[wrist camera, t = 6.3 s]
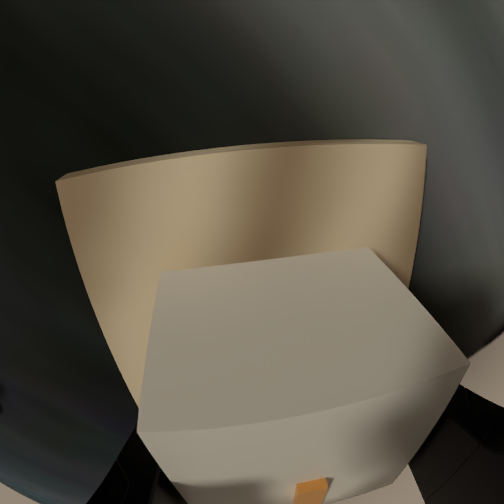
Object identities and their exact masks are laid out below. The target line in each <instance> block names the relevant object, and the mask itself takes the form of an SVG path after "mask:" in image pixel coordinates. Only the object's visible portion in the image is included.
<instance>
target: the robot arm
mask: <svg viewBox="0 0 504 504" xmlns="http://www.w3.org/2000/svg"><path fill="white" fill-rule="evenodd" d="M137 425H138V424H137ZM137 425H136V427H135V429H134V430H133V432H132V434H131V435H130V437H129V439H128V440H127V442H126V444H125V446H124V447H123V449H122V451H121V452H120V454H119V456H118V457H117V460H118V461H117V460H116V461H115V462H114V464H113V466H112V467H111V469H110V471H109V472H108V474H107V476H106V477H105V479H104V480H103V482H102V483H101V485H100V486H99V487H98V489H97V490H96V491H95V493H94V494H93V495H92V497H91V498H90V499H89V501H88V502H87V503H86V504H188V503H187V502H186V501H185V499H184V498H183V497H182V495H181V494H180V493H179V492H178V490H177V489H176V488H175V486H174V485H173V484H172V483H171V481H170V480H169V479H168V477H167V476H166V474H165V473H164V472H163V470H162V469H161V468H160V466H159V465H158V463H157V462H156V460H155V459H154V458H153V456H152V455H151V453H150V452H149V450H148V449H147V447H146V446H145V444H144V443H143V441H142V440H141V438H140V436H139V435H138V433H137ZM408 465H409V467H410V469H411V471H412V473H413V476H414V478H415V481H416V483H417V485H418V487H419V490H420V492H421V495H422V497H423V499H424V501H425V504H504V408H503V407H501V406H499V405H497V404H495V403H493V402H491V401H489V400H487V399H485V398H483V397H481V396H479V395H477V394H476V393H474V392H472V391H470V390H469V389H467V388H464V387H463V386H462V385H460V384H459V386H458V387H457V389H456V391H455V393H454V395H453V396H452V398H451V400H450V401H449V403H448V405H447V407H446V408H445V410H444V412H443V413H442V415H441V416H440V418H439V420H438V421H437V423H436V424H435V426H434V427H433V429H432V430H431V432H430V433H429V435H428V436H427V438H426V439H425V441H424V442H423V444H422V445H421V447H420V448H419V449H418V451H417V452H416V453H415V455H414V456H413V458H412V459H411V460H410V462H409V463H408Z"/></svg>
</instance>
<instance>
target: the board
mask: <svg viewBox="0 0 504 504" xmlns="http://www.w3.org/2000/svg"><path fill="white" fill-rule="evenodd" d="M426 150H427V145H425V144H422V143H418V142H415V141H412V140H373V139H360V140H315V141H294V142H278V143H264V144H252V145H241V146H231V147H221V148H213V149H204V150H196V151H189V152H181V153H174V154H168V155H161V156H155V157H149V158H143V159H137V160H131V161H126V162H120V163H115V164H110V165H105V166H100V167H95V168H91V169H86V170H81V171H77V172H73V173H68V174H66V175H64V176H63V177H61V178H60V179H58V180H57V181H55V182H56V186H57V191H58V195H59V199H60V204H61V208H62V212H63V215H64V219H65V223H66V227H67V230H68V234H69V237H70V241H71V244H72V248H73V251H74V254H75V257H76V260H77V264H78V267H79V270H80V273H81V276H82V279H83V281H84V284H85V287H86V290H87V293H88V296H89V298H90V301H91V304H92V306H93V309H94V311H95V314H96V317H97V319H98V322H99V324H100V327H101V329H102V331H103V334H104V336H105V339H106V341H107V343H108V346H109V348H110V350H111V352H112V355H113V357H114V359H115V361H116V363H117V365H118V368H119V370H120V372H121V374H122V376H123V378H124V380H125V382H126V384H127V386H128V388H129V390H130V392H131V394H132V396H133V398H134V400H135V402H136V404H137V406H138V408H139V406H140V397H141V389H142V381H143V374H144V367H145V360H146V353H147V346H148V340H149V333H150V327H151V321H152V316H153V310H154V304H155V299H156V293H157V288H158V283H159V278H160V273H161V272H166V271H175V270H184V269H192V268H201V267H209V266H218V265H226V264H235V263H243V262H251V261H259V260H268V259H276V258H284V257H292V256H300V255H308V254H316V253H324V252H332V251H340V250H348V249H356V248H364V247H369V248H370V249H371V250H372V251H373V252H374V253H375V254H376V255H377V256H378V257H379V259H380V260H381V261H382V262H383V263H384V264H385V265H386V266H387V267H388V268H389V269H390V270H391V271H392V272H393V273H394V274H395V276H396V277H397V278H398V279H399V280H400V281H401V282H402V283H403V284H404V285H405V286H406V288H407V289H408V288H409V283H410V278H411V273H412V268H413V262H414V257H415V251H416V245H417V238H418V231H419V224H420V217H421V209H422V200H423V190H424V179H425V166H426Z"/></svg>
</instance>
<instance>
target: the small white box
mask: <svg viewBox="0 0 504 504" xmlns="http://www.w3.org/2000/svg"><path fill="white" fill-rule="evenodd" d="M469 365H470V362H469V361H468V359H467V358H466V357H465V356H464V354H463V353H462V352H461V351H460V349H459V348H458V347H457V346H456V344H455V343H454V342H453V341H452V340H451V338H450V337H449V336H448V335H447V334H446V332H445V331H444V330H443V329H442V328H441V326H440V325H439V324H438V323H437V322H436V320H435V319H434V318H433V317H432V316H431V315H430V314H429V312H428V311H427V310H426V309H425V308H424V307H423V305H422V304H421V303H420V302H419V301H418V300H417V299H416V298H415V296H414V295H413V294H412V293H411V292H410V291H409V290H408V289H407V288H406V286H405V285H404V284H403V283H402V282H401V281H400V280H399V279H398V278H397V277H396V276H395V274H394V273H393V272H392V271H391V270H390V269H389V268H388V267H387V266H386V265H385V264H384V263H383V262H382V261H381V260H380V259H379V257H378V256H377V255H376V254H375V253H374V252H373V251H372V250H371V249H370V248H369V247H364V248H356V249H348V250H340V251H332V252H324V253H316V254H308V255H300V256H292V257H284V258H276V259H268V260H259V261H251V262H243V263H235V264H226V265H218V266H209V267H201V268H192V269H184V270H175V271H166V272H161V273H160V278H159V283H158V288H157V293H156V299H155V304H154V310H153V316H152V321H151V327H150V333H149V340H148V346H147V353H146V360H145V367H144V374H143V381H142V389H141V397H140V406H139V415H138V425H137V433H138V435H139V436H140V438H141V440H142V441H143V443H144V444H145V446H146V447H147V449H148V450H149V452H150V453H151V455H152V456H153V458H154V459H155V460H156V462H157V463H158V465H159V466H160V468H161V469H162V470H163V472H164V473H165V474H166V476H167V477H168V479H169V480H170V481H171V483H172V484H173V485H174V486H175V488H176V489H177V490H178V492H179V493H180V494H181V495H182V497H183V498H184V499H185V501H186V502H187V503H188V504H329V503H333V502H337V501H341V500H344V499H348V498H351V497H354V496H358V495H361V494H364V493H367V492H370V491H373V490H376V489H378V488H381V487H384V486H387V485H390V484H392V483H393V482H394V481H395V479H396V478H397V477H398V476H399V475H400V473H401V472H402V471H403V469H404V468H405V467H406V465H407V464H408V463H409V462H410V460H411V459H412V458H413V456H414V455H415V453H416V452H417V451H418V449H419V448H420V447H421V445H422V444H423V442H424V441H425V439H426V438H427V436H428V435H429V433H430V432H431V430H432V429H433V427H434V426H435V424H436V423H437V421H438V420H439V418H440V416H441V415H442V413H443V412H444V410H445V408H446V407H447V405H448V403H449V401H450V400H451V398H452V396H453V395H454V393H455V391H456V389H457V387H458V386H459V384H460V382H461V380H462V378H463V376H464V374H465V372H466V371H467V368H468V367H469Z"/></svg>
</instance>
